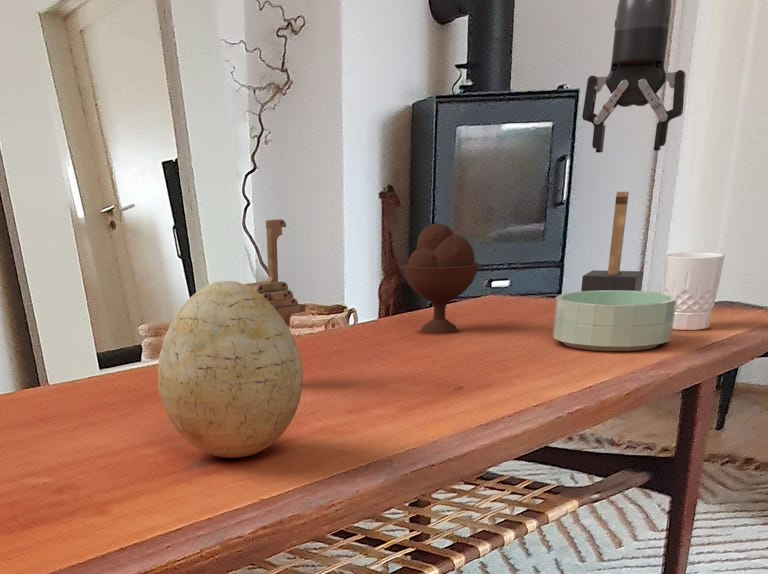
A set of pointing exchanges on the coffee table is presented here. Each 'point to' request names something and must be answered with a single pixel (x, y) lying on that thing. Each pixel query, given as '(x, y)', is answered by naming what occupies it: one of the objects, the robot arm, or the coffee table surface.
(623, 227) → the stirring stick
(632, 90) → the robot arm
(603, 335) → the mixing bowl
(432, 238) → the ice cream bowl
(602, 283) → the utensil holder
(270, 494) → the coffee table surface
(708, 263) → the white cup
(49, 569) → the coffee table surface
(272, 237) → the wooden hook post
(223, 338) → the fossilized egg
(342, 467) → the coffee table surface
